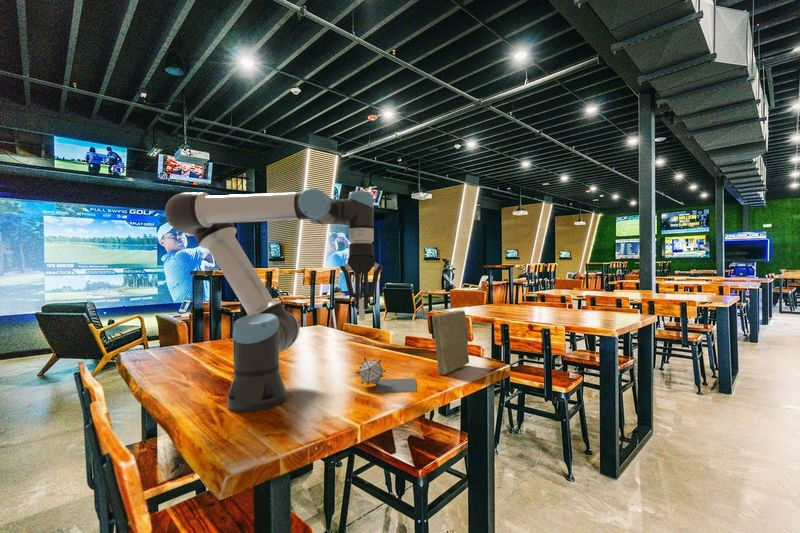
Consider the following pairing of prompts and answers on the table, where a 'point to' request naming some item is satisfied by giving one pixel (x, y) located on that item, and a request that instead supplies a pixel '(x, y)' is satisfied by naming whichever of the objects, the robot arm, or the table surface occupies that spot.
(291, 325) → the robot arm
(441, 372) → the decorative tile
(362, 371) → the game die
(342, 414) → the table surface
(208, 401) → the table surface
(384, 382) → the mat
